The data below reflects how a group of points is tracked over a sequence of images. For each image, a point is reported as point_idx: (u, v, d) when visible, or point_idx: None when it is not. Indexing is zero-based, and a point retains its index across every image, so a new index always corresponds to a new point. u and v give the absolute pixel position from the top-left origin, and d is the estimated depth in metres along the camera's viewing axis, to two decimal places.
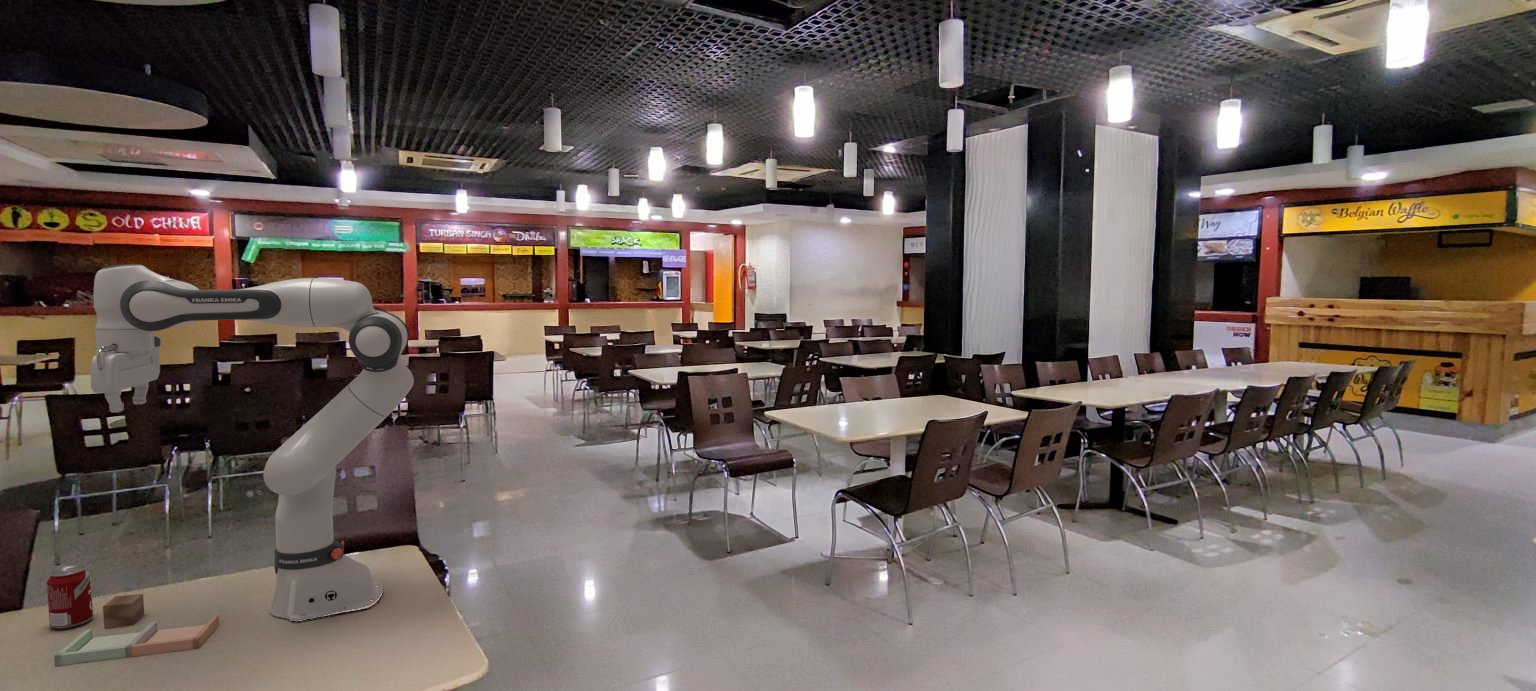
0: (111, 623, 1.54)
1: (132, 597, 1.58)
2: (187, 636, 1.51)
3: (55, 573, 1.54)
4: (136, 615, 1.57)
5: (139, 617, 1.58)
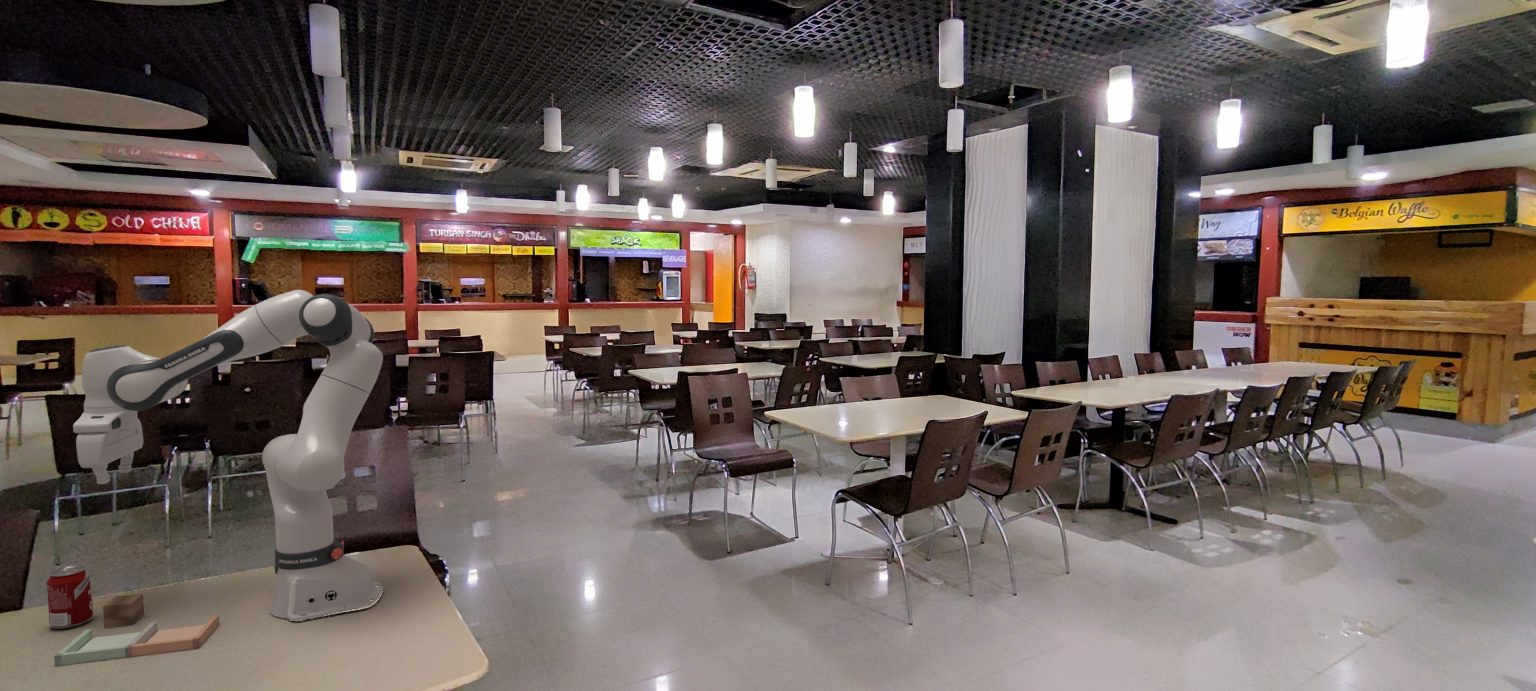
0: (111, 623, 1.54)
1: (132, 597, 1.58)
2: (187, 636, 1.51)
3: (55, 573, 1.54)
4: (136, 615, 1.57)
5: (139, 617, 1.58)
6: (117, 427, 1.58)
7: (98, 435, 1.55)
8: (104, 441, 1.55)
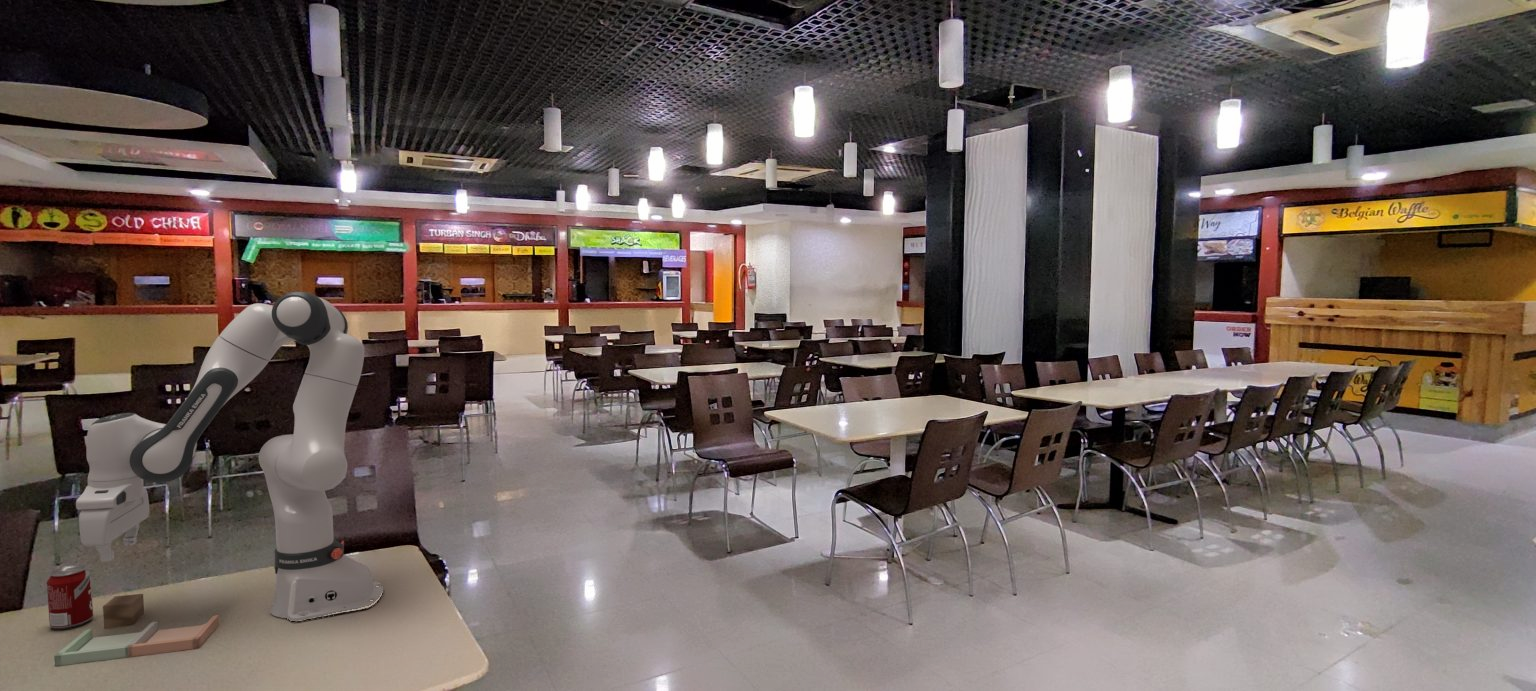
0: (111, 623, 1.54)
1: (132, 597, 1.58)
2: (187, 636, 1.51)
3: (55, 573, 1.54)
4: (136, 615, 1.57)
5: (139, 617, 1.58)
6: (122, 502, 1.51)
7: (102, 511, 1.47)
8: (108, 518, 1.47)
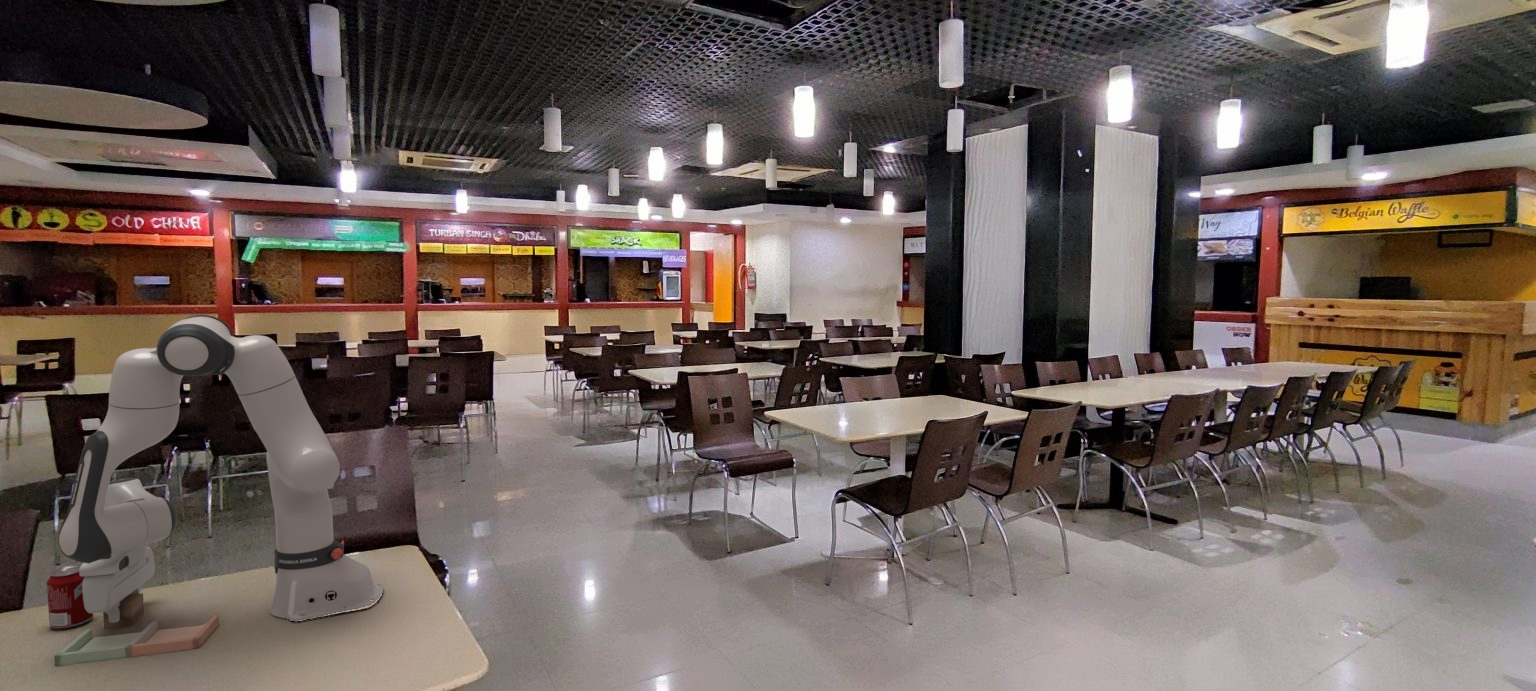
0: (111, 623, 1.54)
1: (131, 597, 1.58)
2: (187, 636, 1.51)
3: (55, 573, 1.54)
4: (136, 615, 1.57)
5: (139, 617, 1.58)
6: (125, 566, 1.52)
7: (105, 578, 1.48)
8: (111, 584, 1.48)
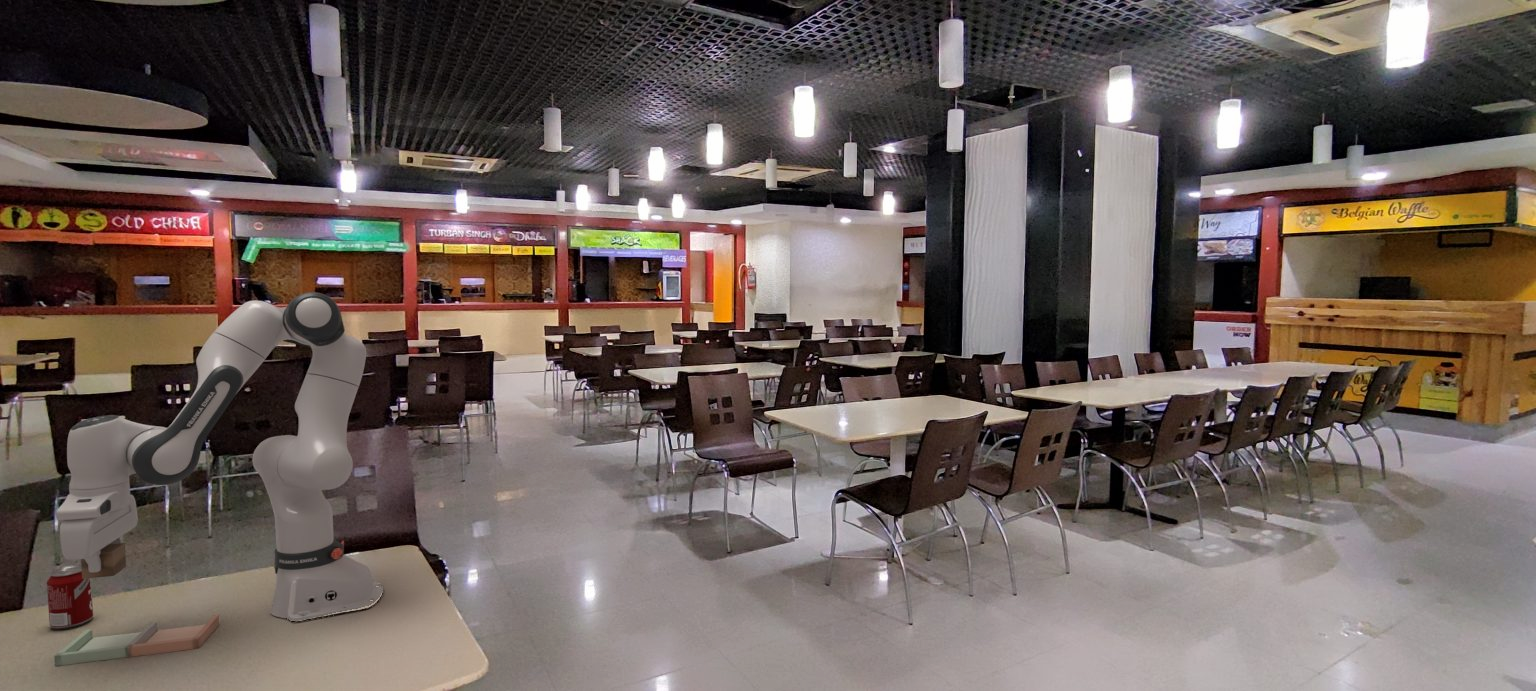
0: (90, 573, 1.43)
1: (112, 546, 1.46)
2: (187, 636, 1.51)
3: (55, 573, 1.54)
4: (117, 565, 1.45)
5: (120, 568, 1.47)
6: (107, 511, 1.40)
7: (85, 522, 1.37)
8: (91, 529, 1.37)
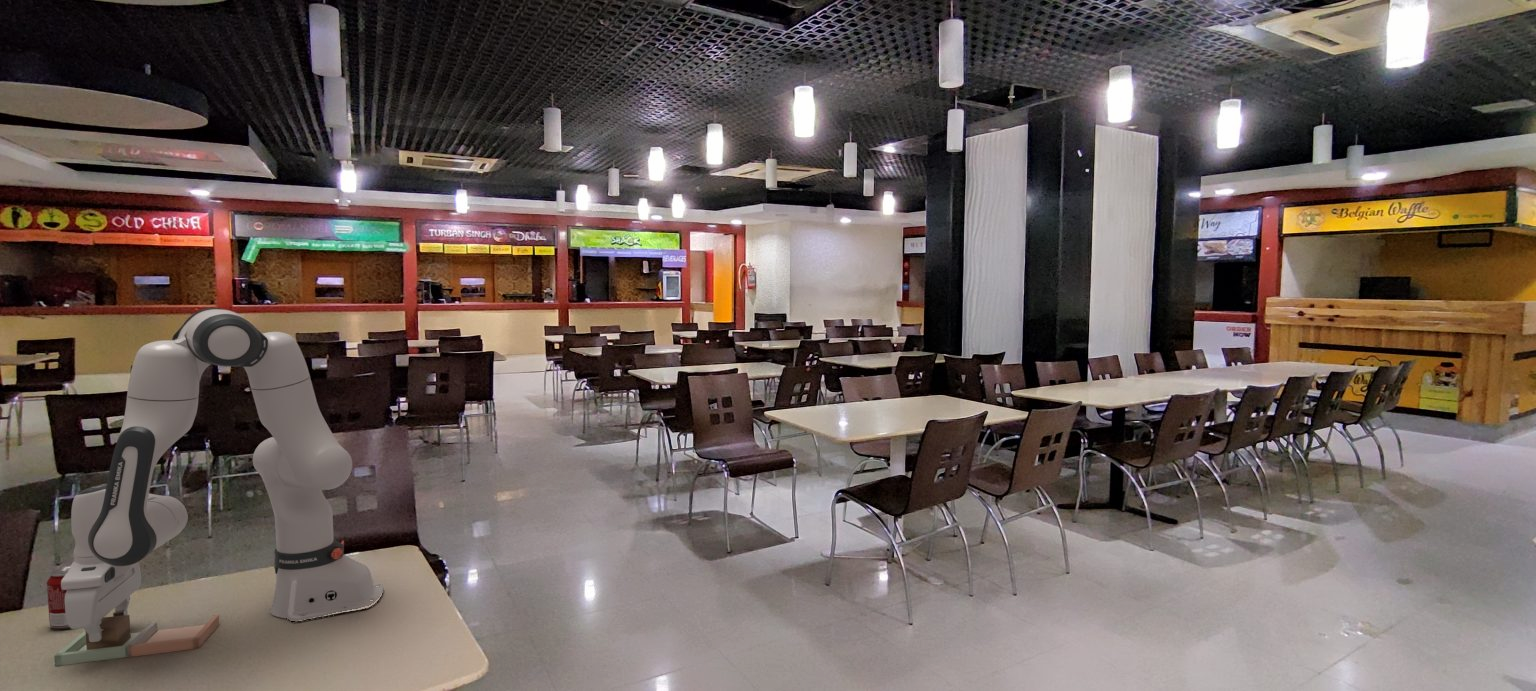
0: (94, 647, 1.44)
1: (117, 618, 1.48)
2: (187, 636, 1.51)
3: (55, 573, 1.54)
4: (121, 638, 1.47)
5: (125, 640, 1.48)
6: (111, 578, 1.41)
7: (89, 591, 1.38)
8: (96, 598, 1.38)
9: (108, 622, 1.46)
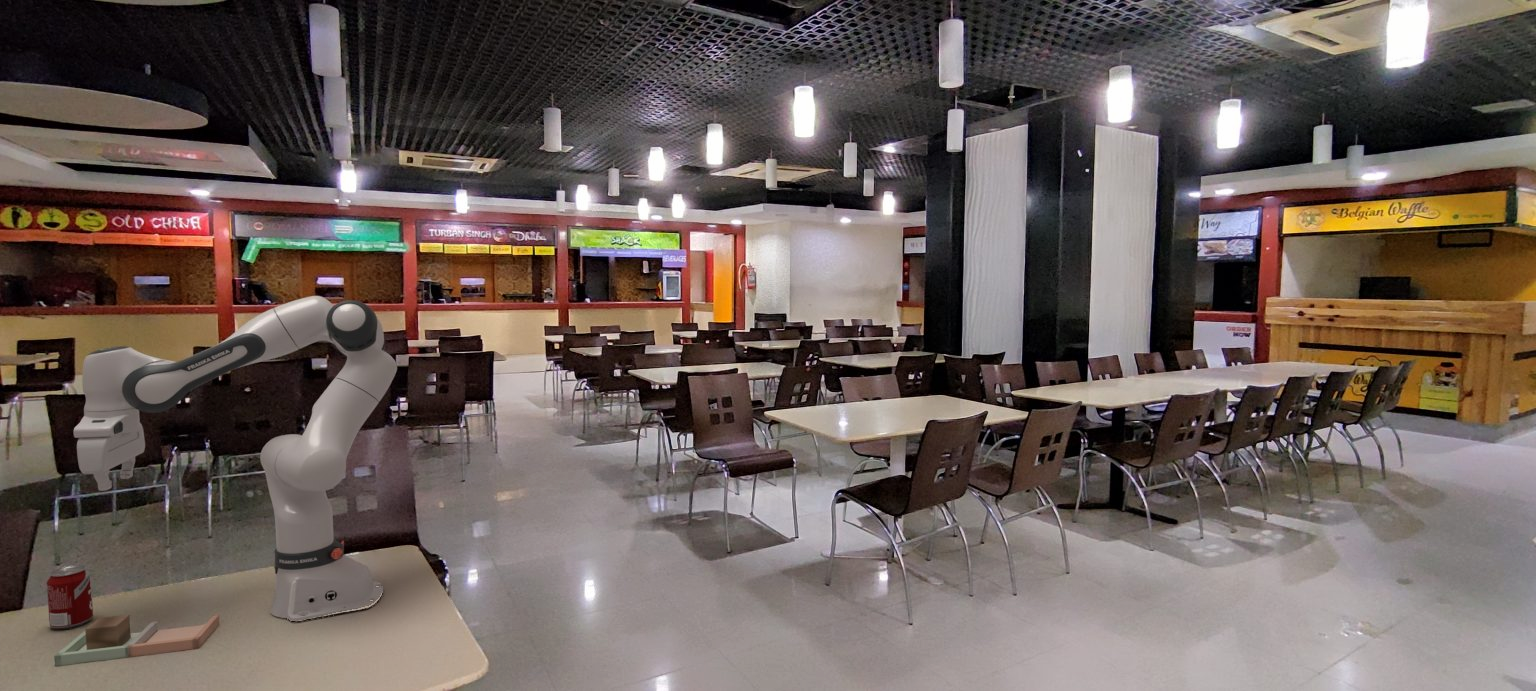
0: (94, 647, 1.44)
1: (117, 618, 1.48)
2: (187, 636, 1.51)
3: (55, 573, 1.54)
4: (121, 638, 1.47)
5: (125, 640, 1.48)
6: (119, 431, 1.53)
7: (100, 440, 1.49)
8: (106, 446, 1.49)
9: (108, 622, 1.46)
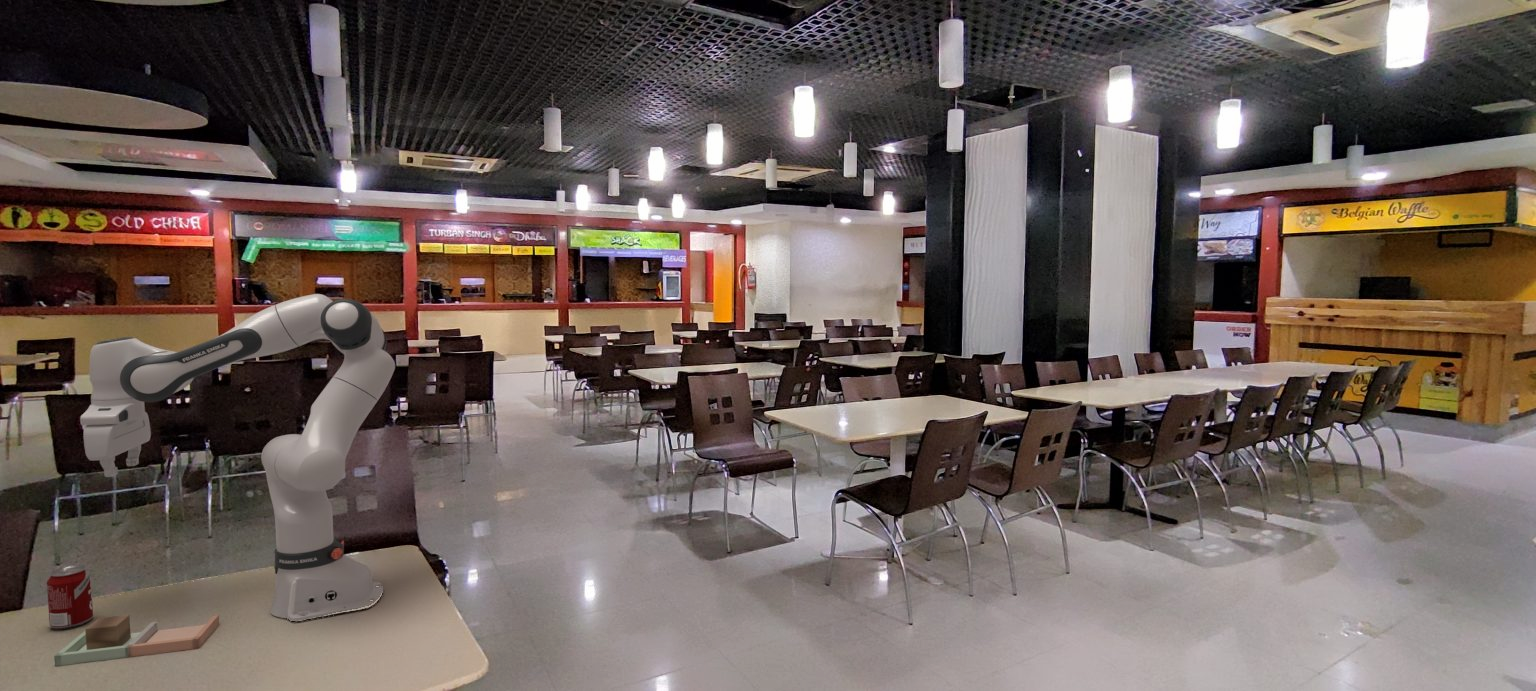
0: (94, 647, 1.44)
1: (117, 618, 1.48)
2: (187, 636, 1.51)
3: (55, 573, 1.54)
4: (121, 638, 1.47)
5: (125, 640, 1.48)
6: (124, 419, 1.58)
7: (106, 427, 1.54)
8: (111, 433, 1.54)
9: (108, 622, 1.46)
